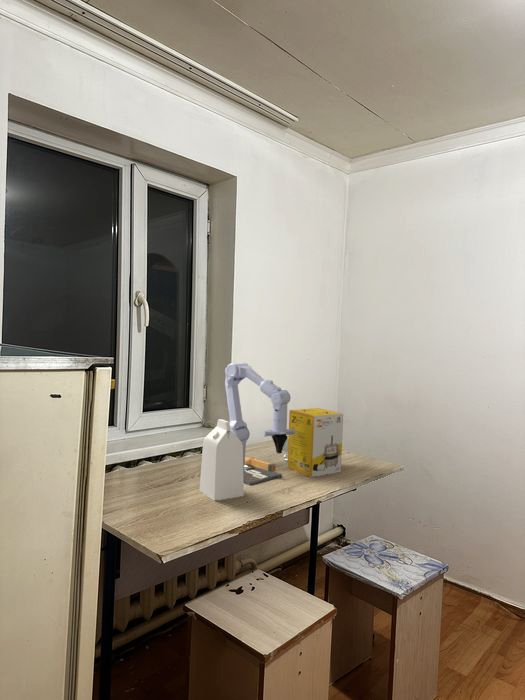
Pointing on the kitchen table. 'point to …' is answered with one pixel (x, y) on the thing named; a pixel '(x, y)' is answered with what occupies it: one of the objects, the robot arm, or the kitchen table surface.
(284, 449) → the pneumatic valve
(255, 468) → the panel
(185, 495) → the kitchen table surface
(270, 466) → the bar
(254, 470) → the label
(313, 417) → the packaging box
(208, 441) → the milk
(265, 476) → the label
